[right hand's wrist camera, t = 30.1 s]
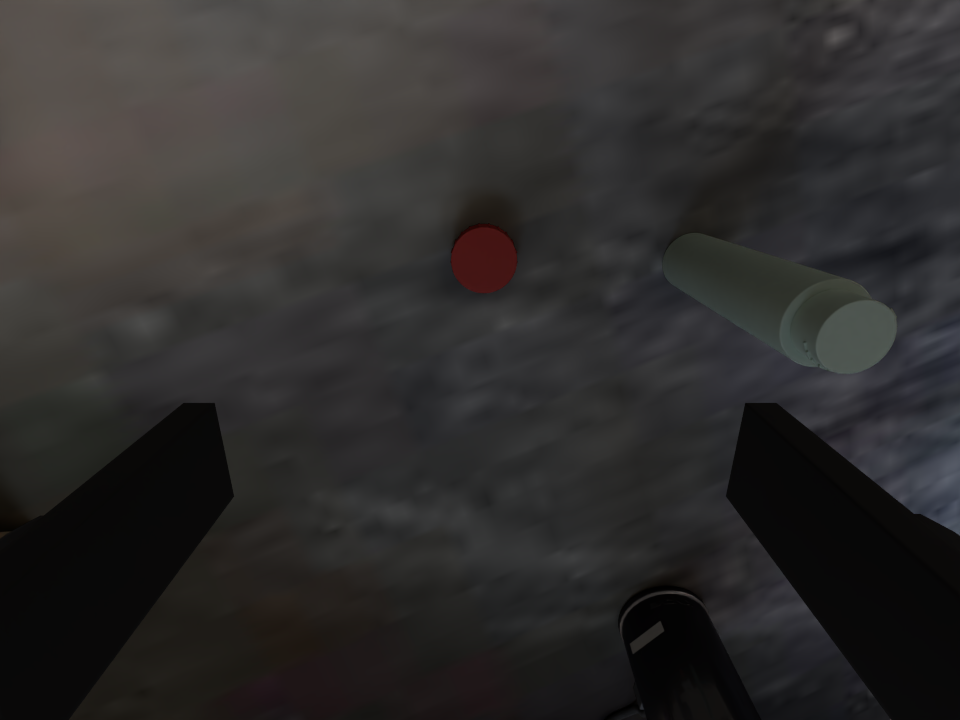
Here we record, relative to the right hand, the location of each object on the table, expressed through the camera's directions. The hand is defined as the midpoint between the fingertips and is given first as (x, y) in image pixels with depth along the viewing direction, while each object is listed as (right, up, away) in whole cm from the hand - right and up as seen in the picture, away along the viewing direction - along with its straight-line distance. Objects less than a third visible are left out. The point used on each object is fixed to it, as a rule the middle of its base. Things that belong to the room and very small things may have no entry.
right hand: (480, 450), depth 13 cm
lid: (0, +10, +26) cm, 28 cm away
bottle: (+17, +10, +28) cm, 34 cm away
